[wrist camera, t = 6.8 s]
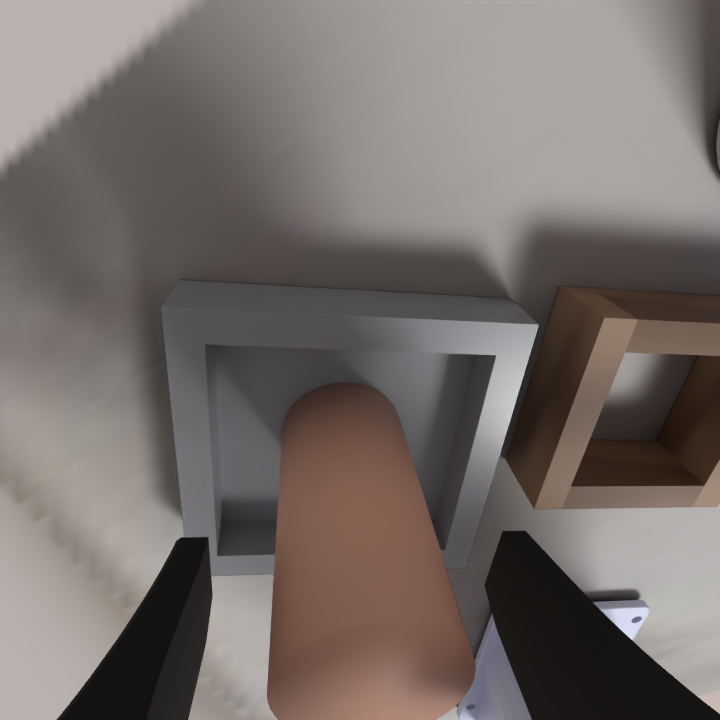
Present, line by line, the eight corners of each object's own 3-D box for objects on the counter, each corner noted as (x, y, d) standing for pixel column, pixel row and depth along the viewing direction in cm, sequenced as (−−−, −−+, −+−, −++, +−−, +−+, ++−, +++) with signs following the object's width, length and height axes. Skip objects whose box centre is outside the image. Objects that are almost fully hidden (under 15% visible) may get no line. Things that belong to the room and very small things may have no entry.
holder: (669, 460, 19) (717, 506, 17) (505, 460, 18) (534, 509, 16) (753, 298, 16) (825, 328, 14) (559, 285, 15) (604, 317, 13)
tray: (451, 526, 20) (466, 567, 18) (199, 531, 18) (188, 577, 16) (511, 298, 15) (539, 324, 13) (178, 279, 14) (160, 306, 12)
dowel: (391, 478, 17) (453, 734, 10) (280, 477, 17) (265, 748, 10) (408, 384, 15) (497, 618, 8) (284, 379, 15) (268, 626, 8)
